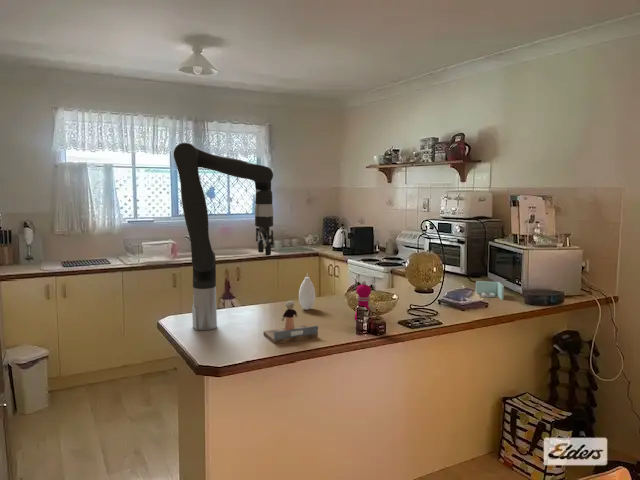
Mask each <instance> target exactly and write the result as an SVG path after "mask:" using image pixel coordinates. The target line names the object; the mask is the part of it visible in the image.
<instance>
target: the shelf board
mask: <svg viewBox="0 0 640 480" xmlns="http://www.w3.org/2000/svg"><path fill="white" fill-rule="evenodd" d="M305 327H308V326H306V325H305V324H304V325H299V326H294V329H298V328H305ZM284 330H285V327H284V328H277V329H276V328H275V329H271V330H270V329H268V330H263V333H262V334H263V336H264V337H265V338H266V339H268V340H269V341H271V343H272V344H273V345H279V344H283V343H290V342H297V341H303V340H309V339H315V338H318V337H319V333H318V334H312V335H305V336H299V337H292V338H286V339H279V340H274V332H277V331H284Z"/></svg>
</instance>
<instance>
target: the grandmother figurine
mask: <svg viewBox="0 0 640 480" xmlns="http://www.w3.org/2000/svg"><path fill="white" fill-rule="evenodd" d="M294 306H295V302H293V300H288V301H286V303H285V307H286V308H287V309H286V310H285V311H284V313H283V315H282V318H281V322H284V321H285V323H284V328H285V330H291V329H294V327H295V321H294V320H295V319H294V316H295V318H298V317H299V316H298V312H297V311H296V310H295V309H294Z"/></svg>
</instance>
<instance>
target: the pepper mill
mask: <svg viewBox="0 0 640 480" xmlns="http://www.w3.org/2000/svg"><path fill="white" fill-rule="evenodd" d="M355 292H356V294H357V300H358V306H359V305H360V306H364V307H366V308H367V309H368V310H369V311H370V307H369V301H370V299H371V298H370V295H371V293H372V289H371V286H369V284H367V281H365V280H362V281H361V284H359V285H358V286H357V287H356V291H355ZM370 312H371V311H370ZM356 320H357V310H356V311H355V314H354V321H355V322H356Z"/></svg>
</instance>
